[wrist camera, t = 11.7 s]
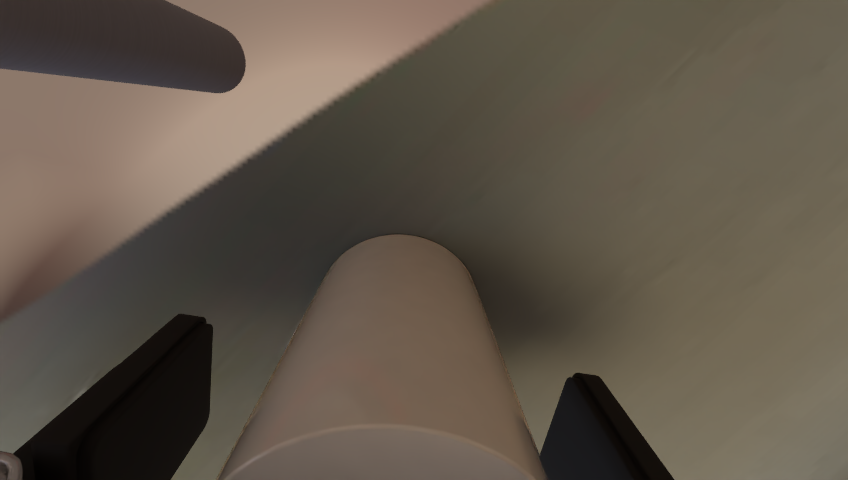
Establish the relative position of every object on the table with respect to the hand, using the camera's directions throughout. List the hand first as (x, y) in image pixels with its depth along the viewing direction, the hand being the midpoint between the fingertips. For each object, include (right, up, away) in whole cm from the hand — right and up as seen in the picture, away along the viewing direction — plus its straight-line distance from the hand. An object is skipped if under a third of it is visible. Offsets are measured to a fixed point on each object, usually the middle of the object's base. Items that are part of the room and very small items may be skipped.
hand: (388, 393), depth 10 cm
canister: (0, +1, +5) cm, 5 cm away
